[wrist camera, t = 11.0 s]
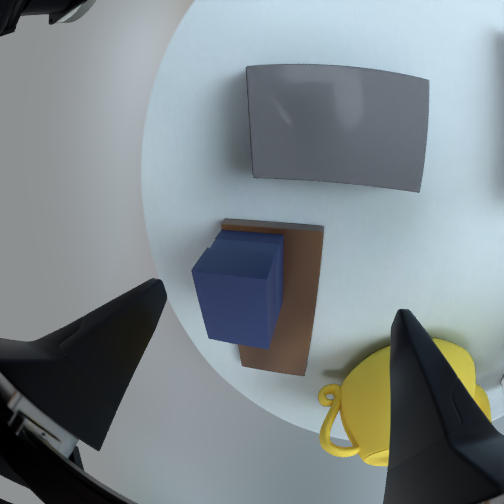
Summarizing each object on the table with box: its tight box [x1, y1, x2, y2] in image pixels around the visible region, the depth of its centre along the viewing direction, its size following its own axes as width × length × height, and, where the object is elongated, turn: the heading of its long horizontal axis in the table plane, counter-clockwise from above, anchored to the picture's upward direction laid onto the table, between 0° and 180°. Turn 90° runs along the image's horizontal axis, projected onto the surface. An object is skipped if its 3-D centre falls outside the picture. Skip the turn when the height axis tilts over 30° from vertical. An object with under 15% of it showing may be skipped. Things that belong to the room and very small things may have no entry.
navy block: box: [192, 248, 276, 349], centre depth 20 cm, size 7×5×3 cm
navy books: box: [210, 230, 284, 323], centre depth 22 cm, size 7×5×3 cm
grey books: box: [246, 64, 429, 193], centre depth 15 cm, size 11×8×3 cm
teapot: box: [318, 338, 492, 466], centre depth 22 cm, size 25×18×14 cm
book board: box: [221, 219, 324, 376], centre depth 26 cm, size 8×20×1 cm, turn 4°
